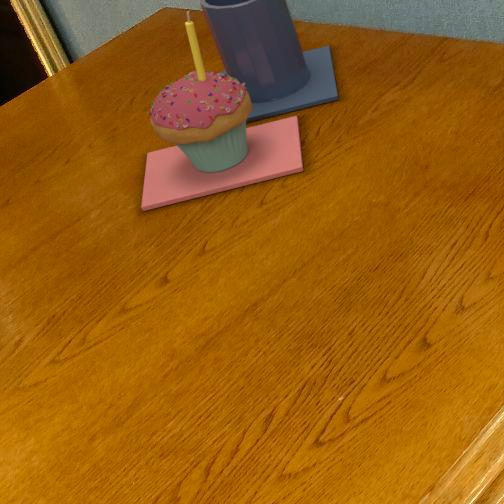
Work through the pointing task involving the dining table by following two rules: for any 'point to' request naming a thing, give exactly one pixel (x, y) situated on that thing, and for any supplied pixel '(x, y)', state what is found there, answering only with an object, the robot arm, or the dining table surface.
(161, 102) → the cupcake
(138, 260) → the dining table surface
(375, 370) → the dining table surface
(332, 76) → the blue mat
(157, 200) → the rose mat
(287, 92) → the blue cup
